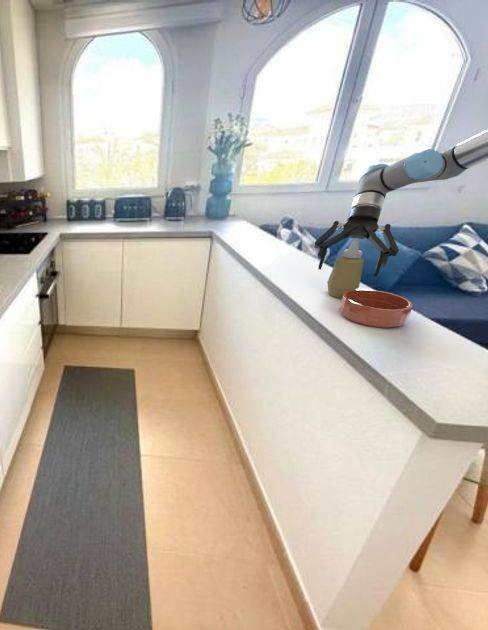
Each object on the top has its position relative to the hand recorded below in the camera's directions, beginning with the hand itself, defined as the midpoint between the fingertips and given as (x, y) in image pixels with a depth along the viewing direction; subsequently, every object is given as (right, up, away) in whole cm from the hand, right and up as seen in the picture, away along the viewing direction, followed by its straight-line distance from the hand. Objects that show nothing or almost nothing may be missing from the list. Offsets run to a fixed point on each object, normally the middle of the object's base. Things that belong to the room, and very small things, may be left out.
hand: (346, 270), depth 104 cm
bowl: (-1, -14, -9) cm, 16 cm away
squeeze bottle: (+2, -7, +5) cm, 9 cm away
